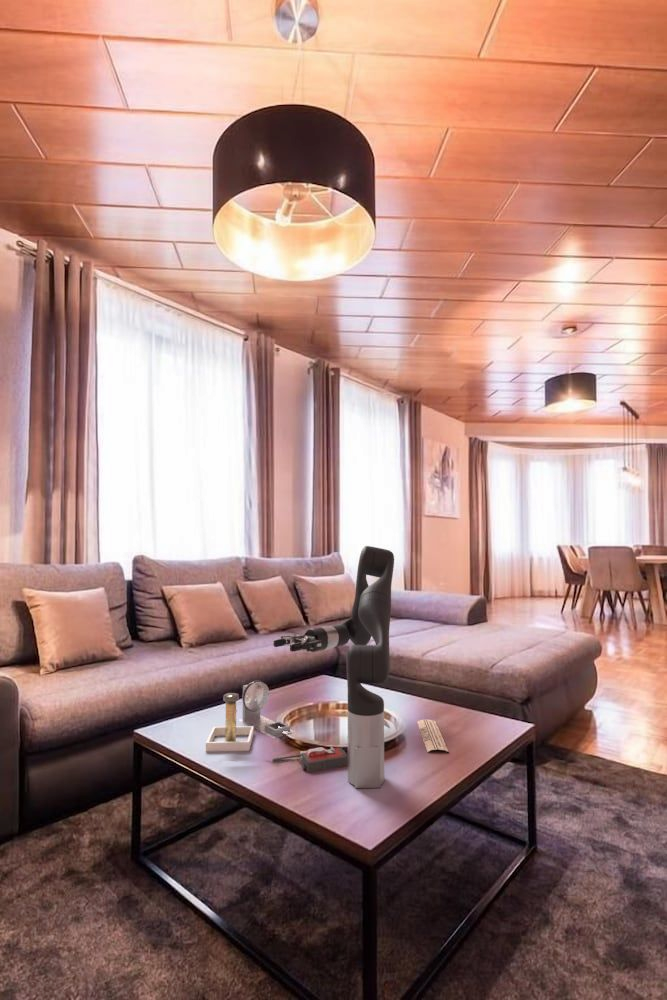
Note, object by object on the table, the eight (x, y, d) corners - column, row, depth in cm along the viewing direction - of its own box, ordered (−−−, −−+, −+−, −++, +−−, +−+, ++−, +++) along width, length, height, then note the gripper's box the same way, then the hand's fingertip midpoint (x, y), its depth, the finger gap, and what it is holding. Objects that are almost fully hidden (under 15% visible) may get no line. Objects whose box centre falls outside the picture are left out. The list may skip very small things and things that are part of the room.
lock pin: (237, 747, 153) (237, 697, 153) (221, 747, 152) (222, 698, 153) (239, 740, 157) (239, 692, 157) (224, 741, 157) (224, 692, 157)
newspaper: (449, 755, 150) (448, 749, 150) (423, 755, 150) (423, 749, 150) (435, 725, 174) (435, 719, 174) (413, 724, 174) (413, 719, 174)
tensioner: (297, 734, 163) (297, 689, 164) (271, 743, 157) (272, 695, 158) (261, 717, 178) (261, 675, 179) (236, 724, 172) (236, 680, 173)
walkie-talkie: (341, 753, 151) (271, 764, 144) (340, 737, 151) (271, 747, 144) (352, 766, 142) (279, 778, 136) (352, 749, 143) (279, 760, 136)
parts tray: (249, 754, 149) (249, 742, 149) (205, 755, 148) (205, 742, 148) (253, 738, 161) (253, 726, 161) (213, 738, 160) (213, 726, 160)
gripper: (307, 624, 182) (268, 630, 171) (336, 630, 171) (296, 637, 160) (307, 646, 181) (268, 654, 170) (336, 653, 171) (296, 662, 160)
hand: (282, 645), depth 165 cm, fingers open, 8 cm apart
